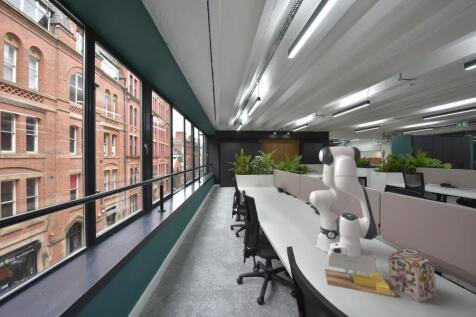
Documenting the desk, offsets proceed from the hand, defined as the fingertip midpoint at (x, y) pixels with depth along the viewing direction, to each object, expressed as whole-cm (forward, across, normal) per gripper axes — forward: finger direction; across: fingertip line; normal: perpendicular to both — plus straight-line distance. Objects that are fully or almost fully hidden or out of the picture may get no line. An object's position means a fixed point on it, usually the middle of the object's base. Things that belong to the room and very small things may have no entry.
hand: (350, 278), depth 91 cm
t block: (+1, -7, 0) cm, 7 cm away
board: (+2, -3, 0) cm, 4 cm away
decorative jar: (+3, -24, -3) cm, 24 cm away
